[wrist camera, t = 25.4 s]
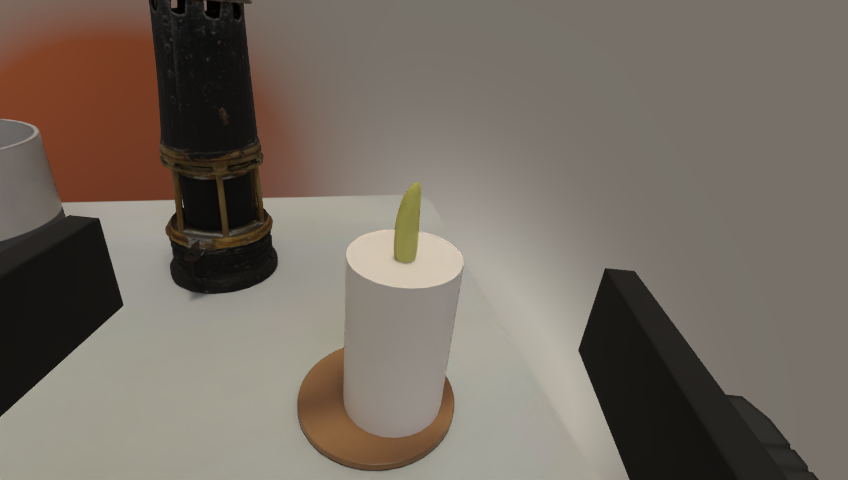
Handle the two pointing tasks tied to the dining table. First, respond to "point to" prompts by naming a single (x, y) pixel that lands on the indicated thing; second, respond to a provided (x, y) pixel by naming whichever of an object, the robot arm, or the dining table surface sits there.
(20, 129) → the planter
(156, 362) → the dining table surface
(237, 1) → the lantern
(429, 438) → the coaster
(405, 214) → the candle
